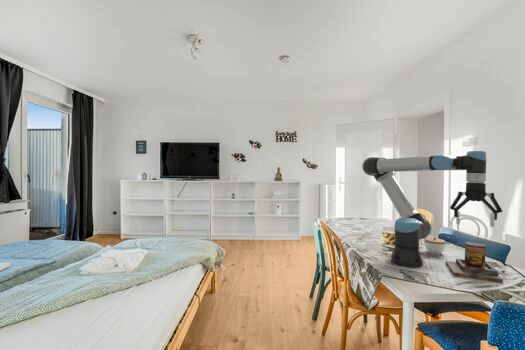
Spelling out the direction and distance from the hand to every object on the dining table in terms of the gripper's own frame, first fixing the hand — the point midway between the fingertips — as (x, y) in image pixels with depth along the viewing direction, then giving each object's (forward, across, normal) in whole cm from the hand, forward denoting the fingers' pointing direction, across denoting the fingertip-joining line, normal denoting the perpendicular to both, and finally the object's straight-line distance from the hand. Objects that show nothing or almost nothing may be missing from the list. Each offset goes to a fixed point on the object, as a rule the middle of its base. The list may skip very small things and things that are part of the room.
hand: (474, 225), depth 130 cm
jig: (+23, -1, -2) cm, 23 cm away
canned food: (+21, 0, 0) cm, 21 cm away
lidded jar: (+23, -12, +27) cm, 37 cm away
